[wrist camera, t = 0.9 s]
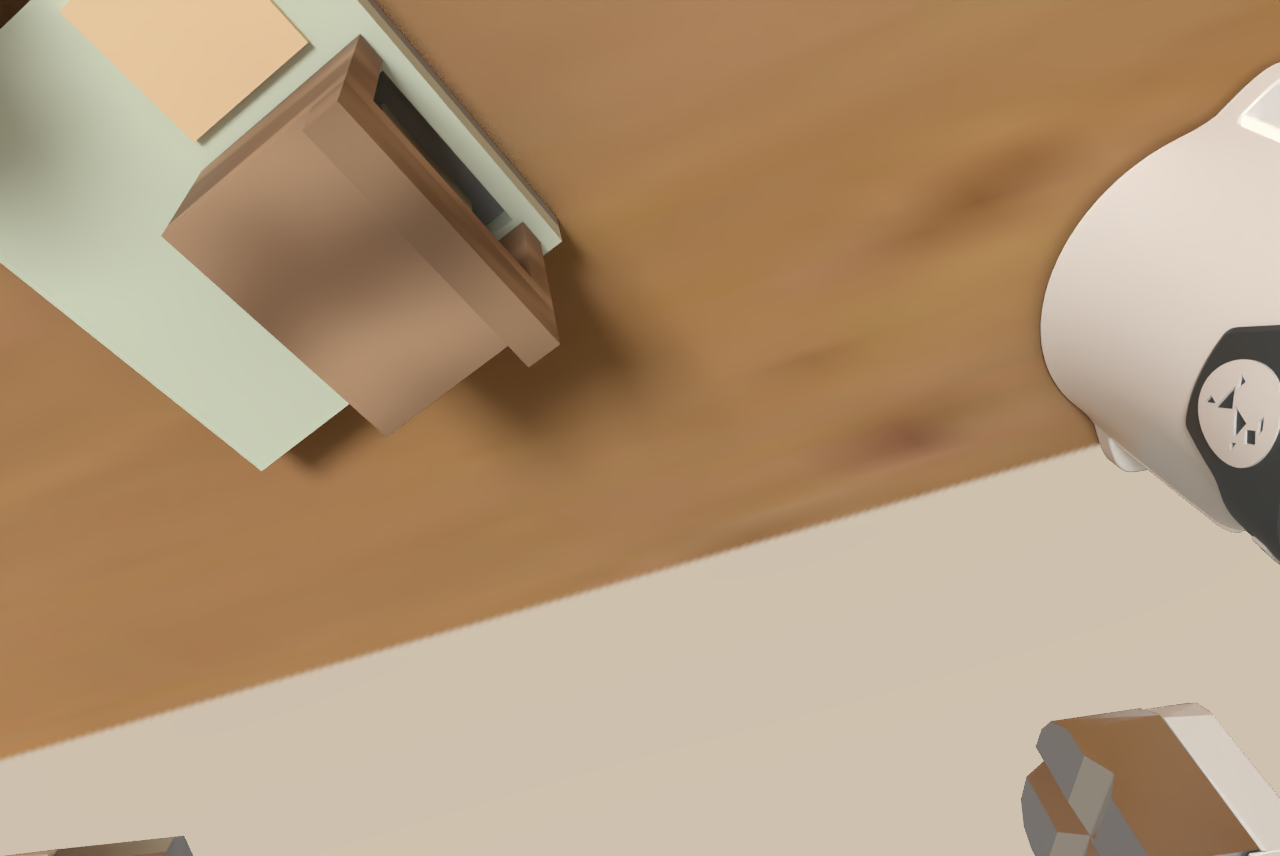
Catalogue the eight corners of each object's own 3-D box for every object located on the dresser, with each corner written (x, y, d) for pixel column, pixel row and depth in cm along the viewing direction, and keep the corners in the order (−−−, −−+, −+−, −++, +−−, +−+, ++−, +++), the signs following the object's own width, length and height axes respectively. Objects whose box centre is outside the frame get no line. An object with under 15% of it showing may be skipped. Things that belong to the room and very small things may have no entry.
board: (556, 217, 39) (562, 244, 37) (270, 437, 42) (260, 475, 40) (225, -177, 31) (208, -173, 29) (-99, 133, 34) (-138, 159, 32)
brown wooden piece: (540, 241, 37) (560, 344, 30) (394, 354, 38) (382, 475, 32) (360, 33, 32) (337, 100, 26) (201, 170, 34) (141, 267, 27)
